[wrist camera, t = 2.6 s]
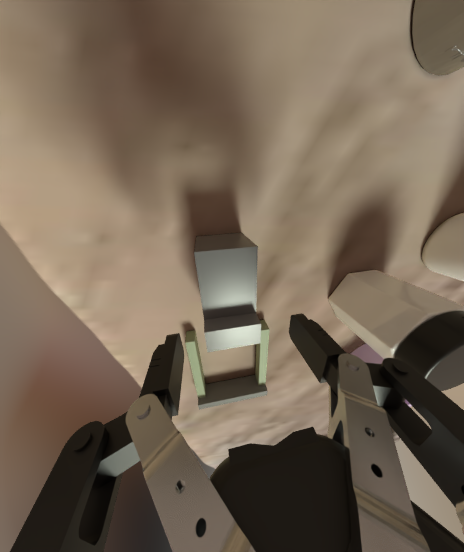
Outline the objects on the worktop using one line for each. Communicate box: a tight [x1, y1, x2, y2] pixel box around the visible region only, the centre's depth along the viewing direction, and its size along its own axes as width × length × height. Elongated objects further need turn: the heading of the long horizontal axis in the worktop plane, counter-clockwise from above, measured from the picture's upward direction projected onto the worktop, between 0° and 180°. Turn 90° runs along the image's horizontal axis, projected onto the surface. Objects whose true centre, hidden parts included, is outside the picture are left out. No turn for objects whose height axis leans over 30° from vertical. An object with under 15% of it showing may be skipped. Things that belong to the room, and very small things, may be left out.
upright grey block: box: [194, 233, 261, 352], centre depth 17 cm, size 9×5×8 cm, turn 2°
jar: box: [328, 270, 464, 391], centre depth 20 cm, size 9×8×12 cm
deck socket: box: [185, 320, 269, 409], centre depth 25 cm, size 14×11×3 cm
